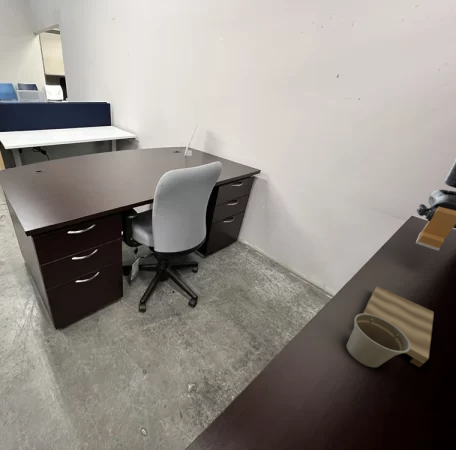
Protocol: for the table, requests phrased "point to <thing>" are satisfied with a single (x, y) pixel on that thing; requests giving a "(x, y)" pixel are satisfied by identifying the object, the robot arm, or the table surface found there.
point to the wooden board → (404, 321)
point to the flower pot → (376, 340)
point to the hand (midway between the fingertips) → (443, 221)
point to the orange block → (437, 228)
